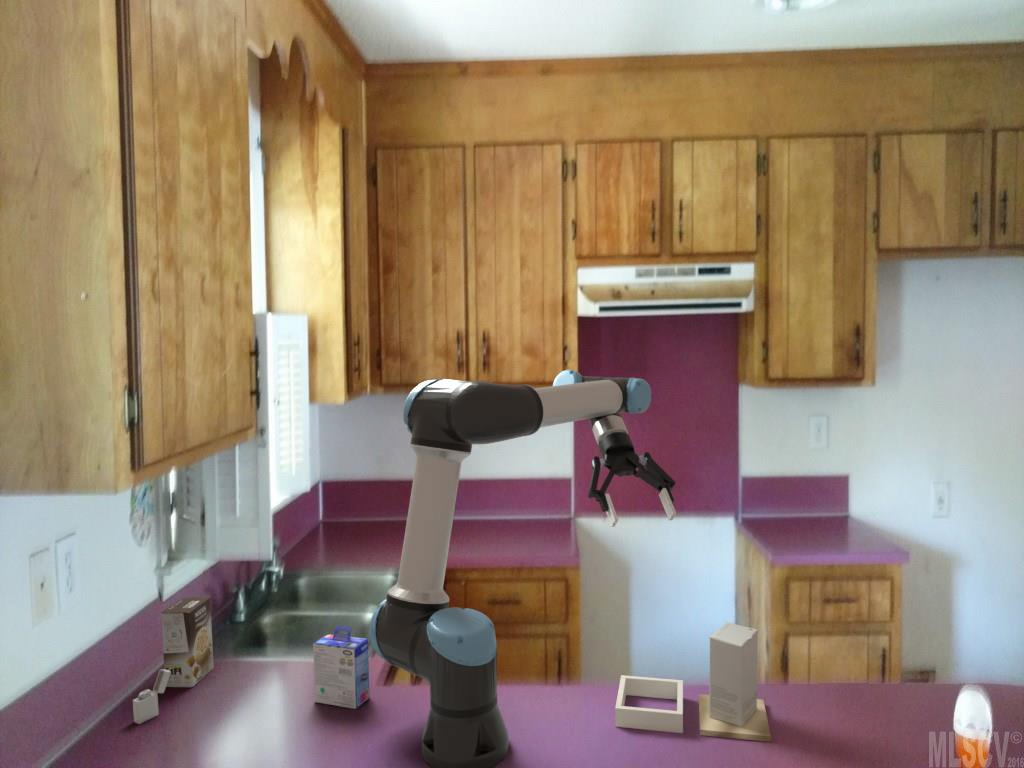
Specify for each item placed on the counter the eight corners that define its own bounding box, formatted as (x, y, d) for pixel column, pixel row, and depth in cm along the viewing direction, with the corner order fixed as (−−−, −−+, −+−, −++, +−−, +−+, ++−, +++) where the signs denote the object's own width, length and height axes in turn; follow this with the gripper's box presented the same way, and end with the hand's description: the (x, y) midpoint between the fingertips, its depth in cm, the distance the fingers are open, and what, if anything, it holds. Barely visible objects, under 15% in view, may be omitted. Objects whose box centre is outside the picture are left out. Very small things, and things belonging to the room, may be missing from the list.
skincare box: (726, 699, 142) (725, 620, 141) (760, 709, 138) (760, 628, 137) (707, 718, 136) (707, 635, 135) (742, 729, 132) (742, 644, 131)
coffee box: (193, 688, 154) (189, 612, 153) (164, 687, 155) (159, 612, 154) (214, 667, 164) (210, 596, 162) (186, 667, 164) (182, 596, 163)
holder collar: (615, 726, 136) (615, 708, 135) (621, 692, 148) (621, 675, 148) (682, 733, 133) (682, 714, 133) (682, 697, 146) (682, 680, 145)
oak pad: (700, 734, 132) (700, 729, 132) (698, 698, 145) (698, 693, 145) (771, 741, 130) (771, 736, 129) (763, 704, 142) (763, 699, 142)
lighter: (138, 724, 140) (136, 683, 140) (133, 721, 141) (130, 681, 141) (173, 707, 146) (170, 668, 146) (167, 705, 147) (165, 666, 147)
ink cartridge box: (371, 697, 149) (369, 626, 148) (357, 710, 144) (354, 638, 143) (329, 690, 152) (326, 621, 151) (313, 703, 147) (310, 632, 146)
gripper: (656, 446, 177) (689, 523, 164) (558, 453, 170) (585, 535, 157) (667, 426, 172) (702, 505, 158) (566, 433, 164) (594, 516, 151)
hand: (644, 520), depth 157 cm, fingers open, 13 cm apart
